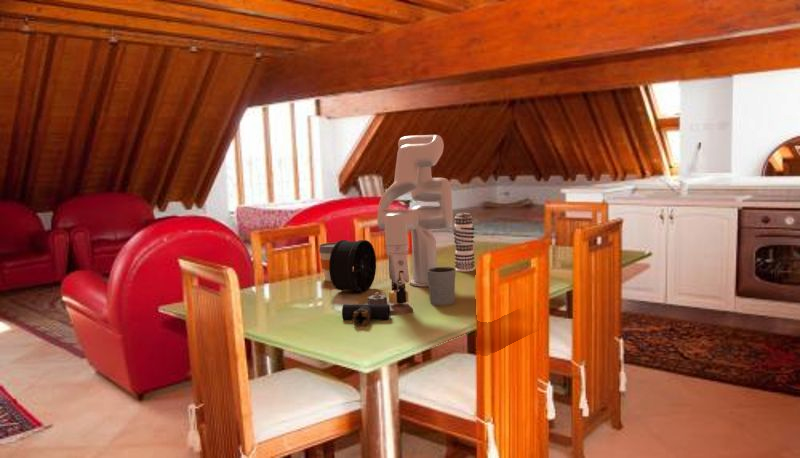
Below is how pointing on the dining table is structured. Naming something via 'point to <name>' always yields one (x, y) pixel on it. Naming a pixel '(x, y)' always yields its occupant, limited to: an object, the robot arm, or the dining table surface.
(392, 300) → the ochre gear
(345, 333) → the dining table surface
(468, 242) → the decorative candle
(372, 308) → the pipe connector
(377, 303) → the board
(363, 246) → the car wheel rim
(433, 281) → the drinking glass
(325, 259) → the reusable coffee cup
